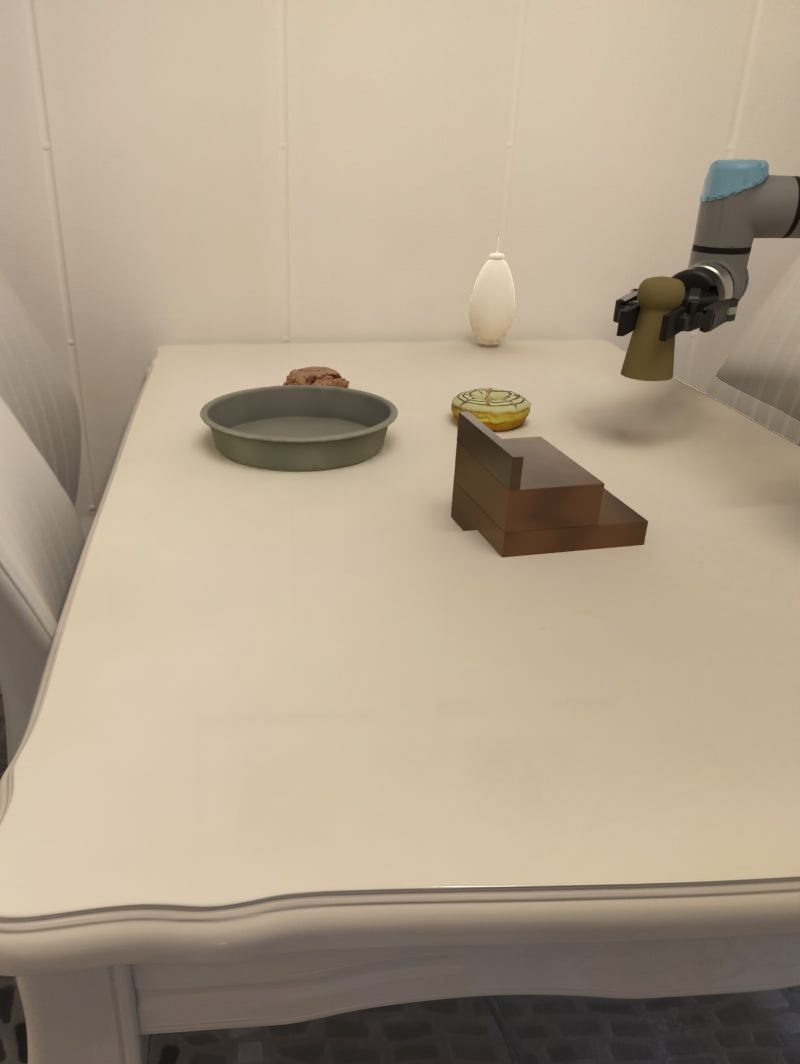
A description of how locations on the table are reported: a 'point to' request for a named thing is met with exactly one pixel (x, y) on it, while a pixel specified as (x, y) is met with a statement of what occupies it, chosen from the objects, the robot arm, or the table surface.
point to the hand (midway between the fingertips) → (642, 326)
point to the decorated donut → (492, 407)
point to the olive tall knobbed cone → (653, 331)
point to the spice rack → (534, 497)
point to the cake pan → (299, 426)
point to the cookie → (316, 377)
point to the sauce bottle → (492, 301)
